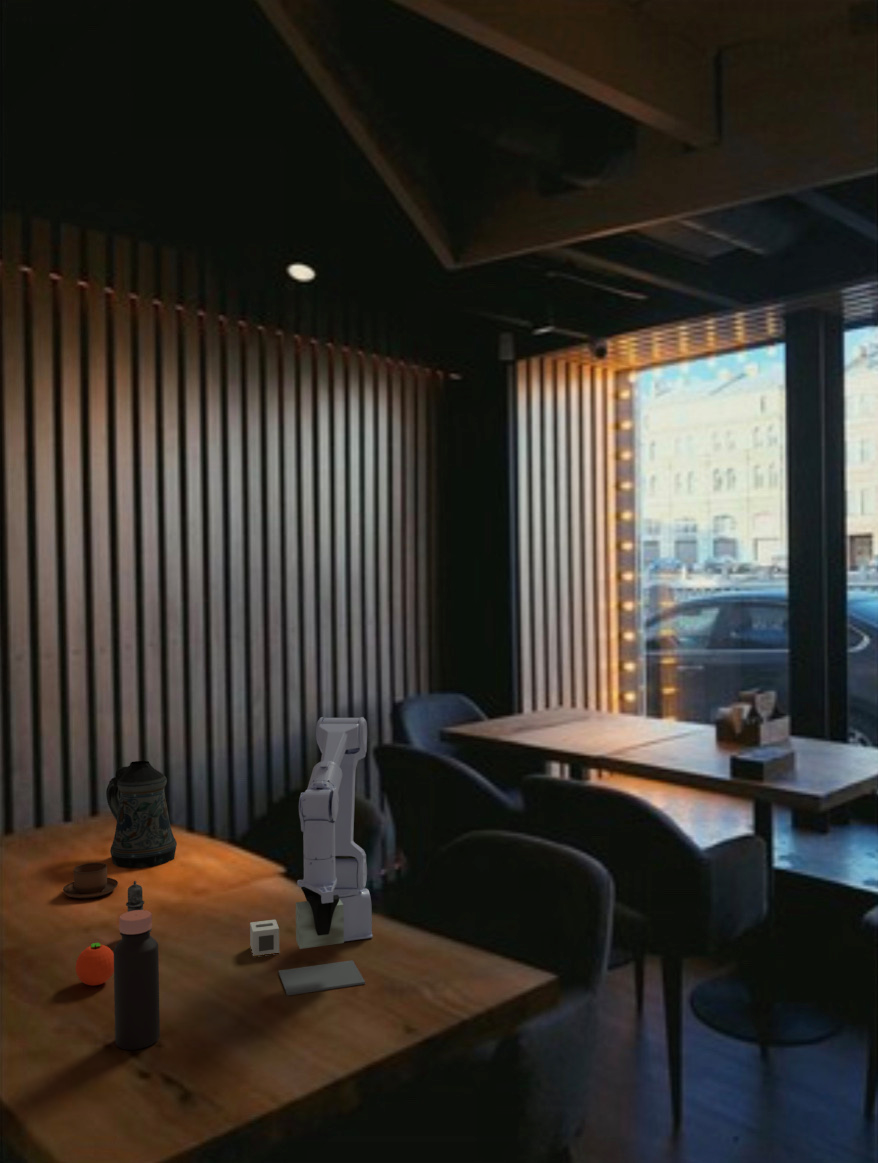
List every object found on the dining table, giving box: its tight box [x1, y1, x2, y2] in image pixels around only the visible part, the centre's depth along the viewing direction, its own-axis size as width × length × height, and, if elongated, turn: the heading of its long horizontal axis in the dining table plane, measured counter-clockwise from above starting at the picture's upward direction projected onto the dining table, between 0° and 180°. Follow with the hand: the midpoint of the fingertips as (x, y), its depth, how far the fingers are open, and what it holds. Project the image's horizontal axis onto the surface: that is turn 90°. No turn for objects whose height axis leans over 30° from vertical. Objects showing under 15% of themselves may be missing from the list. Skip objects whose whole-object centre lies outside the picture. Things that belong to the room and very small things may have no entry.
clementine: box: [75, 942, 114, 987], centre depth 173 cm, size 8×7×7 cm
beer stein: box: [105, 760, 178, 869], centre depth 248 cm, size 16×19×25 cm
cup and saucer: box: [62, 862, 119, 899], centre depth 222 cm, size 12×12×6 cm
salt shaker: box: [125, 880, 145, 912], centre depth 193 cm, size 6×6×12 cm
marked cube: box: [249, 919, 280, 957], centre depth 187 cm, size 5×5×5 cm
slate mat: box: [278, 960, 366, 996], centre depth 174 cm, size 14×10×1 cm
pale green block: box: [295, 899, 345, 950], centre depth 174 cm, size 8×4×7 cm, turn 108°
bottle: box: [113, 909, 161, 1051], centre depth 152 cm, size 7×7×20 cm
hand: (320, 929), depth 174 cm, fingers closed on pale green block, 4 cm apart
